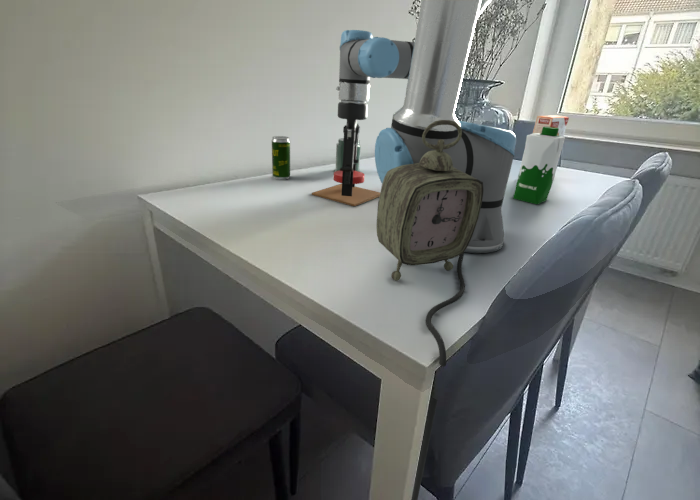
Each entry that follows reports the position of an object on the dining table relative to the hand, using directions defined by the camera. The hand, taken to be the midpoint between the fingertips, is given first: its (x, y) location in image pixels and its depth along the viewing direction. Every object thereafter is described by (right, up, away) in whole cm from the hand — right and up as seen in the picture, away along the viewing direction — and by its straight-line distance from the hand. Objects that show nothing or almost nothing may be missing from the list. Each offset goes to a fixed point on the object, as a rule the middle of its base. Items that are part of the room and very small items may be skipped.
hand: (348, 190), depth 106 cm
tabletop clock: (+11, -19, -38) cm, 44 cm away
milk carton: (+53, -2, +7) cm, 53 cm away
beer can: (-21, +6, +13) cm, 25 cm away
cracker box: (+69, +11, +36) cm, 78 cm away
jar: (-1, +10, +25) cm, 27 cm away
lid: (0, +4, -2) cm, 4 cm away
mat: (0, -1, +1) cm, 1 cm away
